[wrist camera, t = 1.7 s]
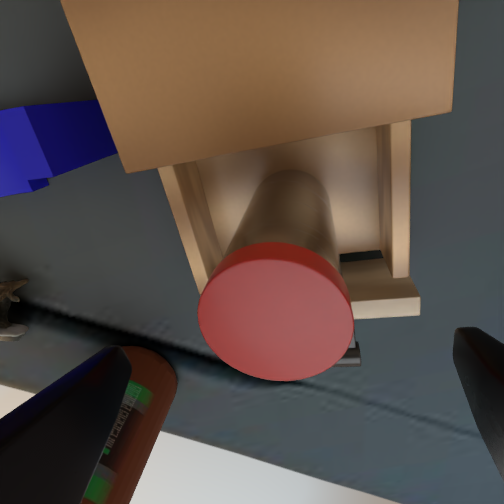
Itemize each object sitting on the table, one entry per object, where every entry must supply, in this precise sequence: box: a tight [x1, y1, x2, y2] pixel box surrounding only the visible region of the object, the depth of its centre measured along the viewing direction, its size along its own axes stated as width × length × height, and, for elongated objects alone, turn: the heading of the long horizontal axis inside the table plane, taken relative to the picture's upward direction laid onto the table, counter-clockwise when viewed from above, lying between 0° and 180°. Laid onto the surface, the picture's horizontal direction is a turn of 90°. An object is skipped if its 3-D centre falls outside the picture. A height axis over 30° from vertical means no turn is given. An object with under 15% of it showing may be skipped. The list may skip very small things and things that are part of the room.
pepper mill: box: [198, 169, 354, 381], centre depth 14 cm, size 5×5×10 cm
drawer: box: [158, 120, 421, 367], centre depth 18 cm, size 17×12×4 cm
